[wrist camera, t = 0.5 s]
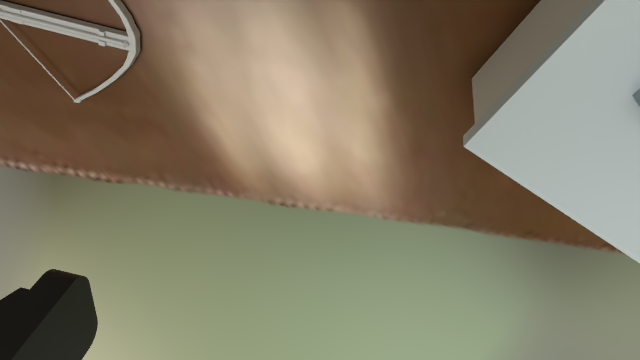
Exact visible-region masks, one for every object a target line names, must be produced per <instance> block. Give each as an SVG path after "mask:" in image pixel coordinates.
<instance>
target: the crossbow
mask: <svg viewBox="0 0 640 360" xmlns="http://www.w3.org/2000/svg"><path fill="white" fill-rule="evenodd" d="M109 2H110V3H111V4H112V6H113V7H114V9H115V10H116V11H117V13H118V14H119V16H120V17H121V19H122V21H123V23H124V25H125V27H126V31H127V32H125V31H121V30H117V29H113V28H109V27H105V26H101V25H97V24H93V23H89V22H85V21H81V20H77V19H73V18H69V17H65V16H61V15H57V14H53V13H49V12H45V11H41V10H37V9H33V8H29V7H25V6H21V5H17V4H13V3H9V2H5V1H1V0H0V18H2V19H6V20H10V21H11V22H15V23H19V24H26V25H29V26H33V27H37V28H41V29H45V30H49V31H53V32H57V33H61V34H65V35H69V36H73V37H77V38H81V39H85V40H89V41H93V42H97V43H99V45H101V46H106V45H108V46H112V47H116V48H120V49H124V50H128V51H129V53H128V57H127V59H126V61H125V63H124V65H123V66H122V67H121V68H120V69H119V70H118V71H117V72H116V73H115V74H114V75H113V76H112V77H111V78H109V79H108V80H107V81H105V82H104V83H102V84H101V85H99V86H98V87H96V88H94V89H92V90H90V91H88V92H86V93H84V94H82V95H80V96H79V97H78V98H76V99H74V98H73V97H72V96H71V94H70V93H69V92H68V91H67V90H66V89H65V88H64V87H63V86H62V85H61V84H60V83H59V82H58V81H57V80H56V78H55V77H54V76H53V75H52V74H51V73H50V72H49V71H48V70H47V69H46V68H45V67H44V66H43V65H42V63H41V62H40V61H39V60H38V59H37V58H36V57H35V56H34V55H33V54H32V53H31V52H30V51H29V50H28V48H27V47H26V46H25V45H24V44H23V43H22V42H21V41H20V40H19V39H18V38H17V37H16V36H15V35H14V34H13V32H12V31H11V30H10V29H9V28H8V27H7V26H6V25H5V24H4V23H3V22H2V21H1V20H0V22H1V23H2V24H3V25H4V26H5V27H6V28H7V29H8V30H9V31H10V32H11V33H12V35H13V36H14V37H15V38H16V39H17V40H18V41H19V42H20V43H21V44H22V45H23V46H24V47H25V48H26V49H27V51H28V52H29V53H30V54H31V55H32V56H33V57H34V58H35V59H36V60H37V61H38V62H39V63H40V64H41V65H42V67H43V68H44V69H45V70H46V71H47V72H48V73H49V74H50V75H51V76H52V77H53V78H54V79H55V80H56V82H57V83H58V84H59V85H60V86H61V87H62V88H63V89H64V90H65V91H66V92H67V93H68V94H69V95H70V96H71V98H72V99H73V100H74V102H76V103H80V102H81V101H82V100H84V99H85V98H87V97H89V96H91V95H93V94H95V93H97V92H99V91H100V90H102V89H103V88H104V87H106V86H107V85H109V84H110V83H112V82H113V81H115V80H116V79H117V78H118V77H120V76H121V75H122V74H123V73H124V72H125V71H126V70H127V69H128V68H129V67H130V66H131V65H132V64H133V63H134V61H135V59H136V58H137V56H138V55H139V53H140V50H141V49H140V32H139V29H138V28H137V27H136V24H135V22H134V20H133V18H132V16H131V14H130V13H129V11H128V10H127V9H126V7H125V6H124V4H123V3H122V2H121V0H109Z"/></svg>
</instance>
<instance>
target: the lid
mask: <svg viewBox="0 0 640 360" xmlns="http://www.w3.org/2000/svg"><path fill="white" fill-rule="evenodd" d="M463 144H464V147H465V148H467V149H468V150H470V151H471V152H473V153H474V154H476V155H477V156H479V157H480V158H482V159H483V160H485V161H486V162H488V163H489V164H491V165H492V166H494V167H495V168H497V169H498V170H500V171H501V172H503V173H504V174H506V175H507V176H509V177H510V178H512V179H513V180H515V181H516V182H518V183H519V184H521V185H522V186H524V187H525V188H527V189H528V190H530V191H531V192H533V193H534V194H536V195H537V196H539V197H540V198H542V199H543V200H545V201H546V202H548V203H549V204H551V205H552V206H554V207H555V208H557V209H559V210H560V211H562V212H563V213H565V214H566V215H568V216H569V217H571V218H572V219H574V220H575V221H577V222H578V223H580V224H581V225H583V226H584V227H586V228H587V229H589V230H590V231H592V232H593V233H595V234H596V235H598V236H599V237H601V238H602V239H604V240H605V241H607V242H608V243H610V244H611V245H613V246H614V247H616V248H617V249H619V250H620V251H622V252H623V253H625V254H626V255H628V256H629V257H631V258H632V259H634V260H635V261H637V262H638V263H640V0H592V1H591V2H590V3H589V4H588V5H587V6H586V7H585V8H584V9H583V11H582V12H581V13H580V14H579V15H578V16H577V17H576V18H575V19H574V20H573V21H572V22H571V23H570V24H569V25H568V26H567V27H566V28H565V29H564V31H563V32H562V33H561V34H560V35H559V36H558V37H557V38H556V39H555V40H554V41H553V42H552V43H551V44H550V45H549V46H548V47H547V48H546V49H545V50H544V52H543V53H542V54H541V55H540V56H539V57H538V58H537V59H536V60H535V61H534V62H533V63H532V64H531V65H530V66H529V67H528V68H527V69H526V70H525V72H524V73H523V74H522V75H521V76H520V77H519V78H518V79H517V80H516V81H515V82H514V83H513V84H512V85H511V86H510V87H509V88H508V89H507V90H506V92H505V93H504V94H503V95H502V96H501V97H500V98H499V99H498V100H497V101H496V102H495V103H494V104H493V105H492V106H491V107H490V108H489V109H488V110H487V112H486V113H485V114H484V115H483V116H482V117H481V118H480V119H479V120H478V121H477V122H476V123H475V124H474V125H473V126H472V127H471V128H470V129H469V130H468V132H467V133H466V134H465V135H464V136H463Z"/></svg>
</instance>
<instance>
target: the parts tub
mask: <svg viewBox="0 0 640 360" xmlns="http://www.w3.org/2000/svg"><path fill="white" fill-rule="evenodd" d="M591 1H592V0H541V1H540V2H539V3H538V4H537V5H536V6H535V7H534V8H533V10H532V11H531V12H530V13H529V14H528V15H527V16H526V17H525V19H524V20H523V21H522V22H521V23H520V24H519V25H518V27H517V28H516V29H515V30H514V31H513V32H512V33H511V34H510V36H509V37H508V38H507V39H506V40H505V41H504V42H503V44H502V45H501V46H500V47H499V48H498V49H497V50H496V51H495V53H494V54H493V55H492V56H491V57H490V58H489V59H488V60H487V62H486V63H485V64H484V65H483V66H482V67H481V68H480V70H479V71H478V72H477V73H476V74H475V75H474V76H473V77H472V90H473V103H474V116H475V123H476V122H477V121H478V120H479V119H480V118H481V117H482V116H483V115H484V114H485V113H486V112H487V110H488V109H489V108H490V107H491V106H492V105H493V104H494V103H495V102H496V101H497V100H498V99H499V98H500V97H501V96H502V95H503V94H504V93H505V92H506V90H507V89H508V88H509V87H510V86H511V85H512V84H513V83H514V82H515V81H516V80H517V79H518V78H519V77H520V76H521V75H522V74H523V73H524V72H525V70H526V69H527V68H528V67H529V66H530V65H531V64H532V63H533V62H534V61H535V60H536V59H537V58H538V57H539V56H540V55H541V54H542V53H543V52H544V50H545V49H546V48H547V47H548V46H549V45H550V44H551V43H552V42H553V41H554V40H555V39H556V38H557V37H558V36H559V35H560V34H561V33H562V32H563V31H564V29H565V28H566V27H567V26H568V25H569V24H570V23H571V22H572V21H573V20H574V19H575V18H576V17H577V16H578V15H579V14H580V13H581V12H582V11H583V9H584V8H585V7H586V6H587V5H588V4H589V3H590V2H591Z"/></svg>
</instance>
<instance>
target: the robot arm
mask: <svg viewBox="0 0 640 360" xmlns="http://www.w3.org/2000/svg"><path fill="white" fill-rule="evenodd" d="M97 325H98V322H97V315H96V311H95V306H94V302H93V297H92V293H91V288H90V284H89V280H88V279H87V278H86V277H84V276H81V275H76V274H72V273H68V272H64V271H60V270H56V269H52V270H49V271H47V272H46V273H44V274H43V275H42V276H41V278H40V279H39V280H38V281H37V282H36V283H35V284H34V285H33V287H32V288H31V289H30V290H29V289H25V288H19V289H17V290H16V291H14V292H13V293H11V294H9V295H8V296H6V297H5V298H3V299H1V300H0V360H82V358H83V357H84V355H85V354H86V352H87V351H88V349H89V348H90V346H91V344H92V342H93V340H94V338H95V334H96V331H97Z"/></svg>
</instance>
